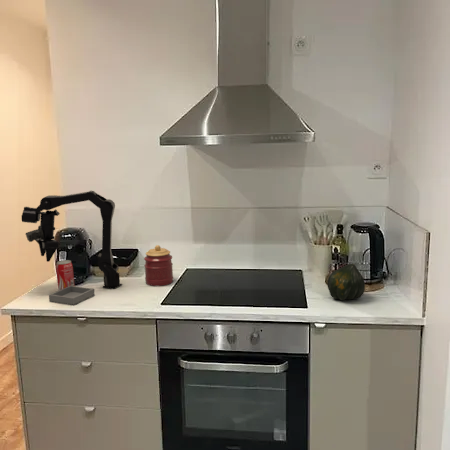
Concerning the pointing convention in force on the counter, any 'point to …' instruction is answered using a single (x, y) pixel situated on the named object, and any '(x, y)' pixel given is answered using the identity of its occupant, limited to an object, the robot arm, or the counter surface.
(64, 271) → the soda can
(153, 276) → the canister
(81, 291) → the bin
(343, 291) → the squash
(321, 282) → the counter surface
